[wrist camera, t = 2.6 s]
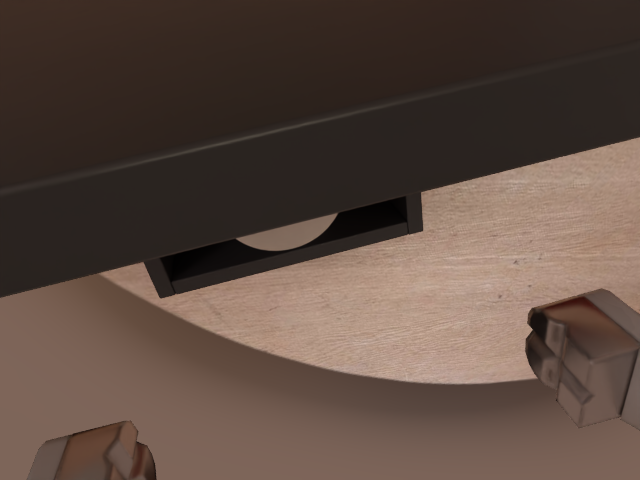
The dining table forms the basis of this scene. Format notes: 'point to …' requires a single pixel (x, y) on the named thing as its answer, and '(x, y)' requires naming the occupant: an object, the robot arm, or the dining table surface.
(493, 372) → the dining table surface
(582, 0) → the dark hinged box lid
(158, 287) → the black keepsake box
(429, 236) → the dining table surface
